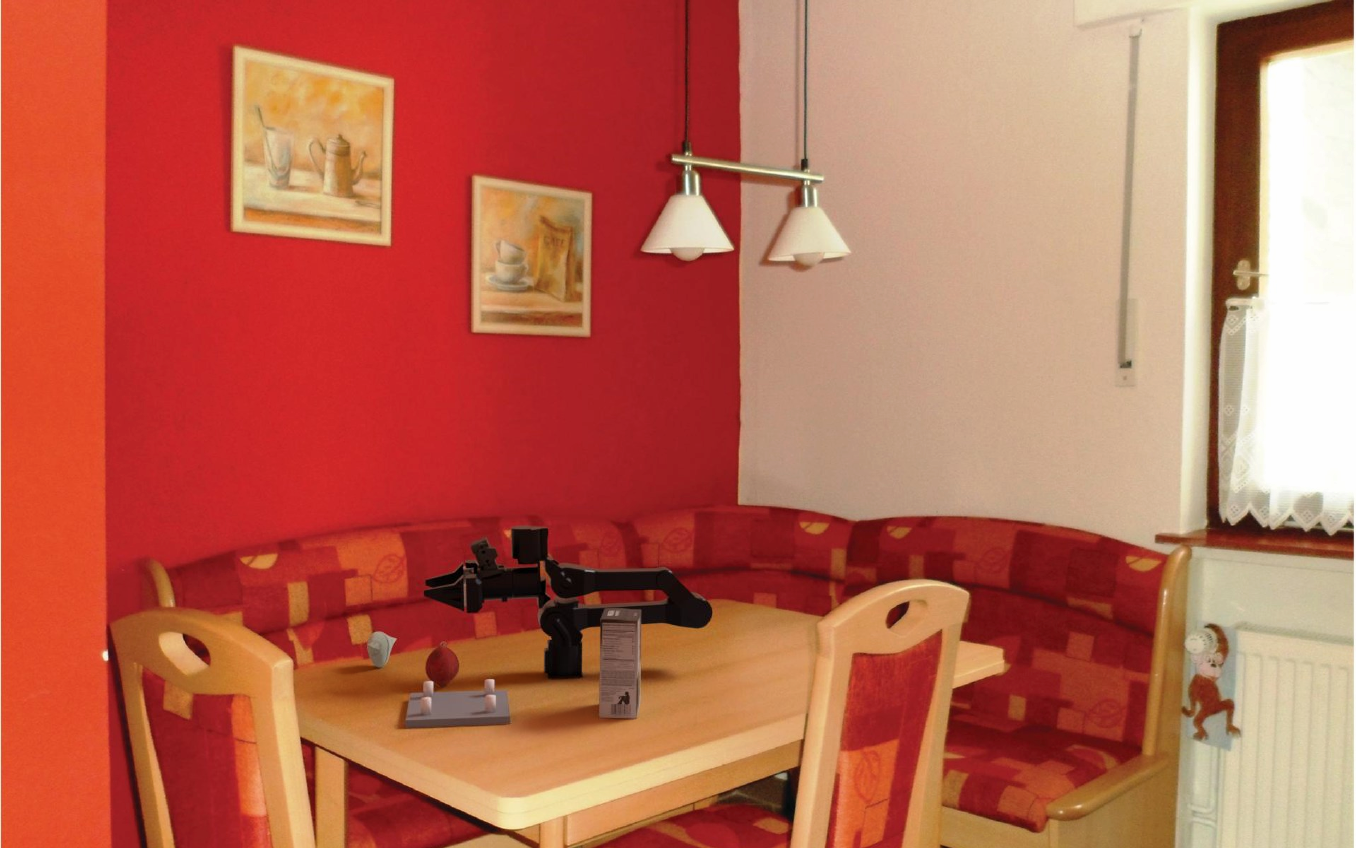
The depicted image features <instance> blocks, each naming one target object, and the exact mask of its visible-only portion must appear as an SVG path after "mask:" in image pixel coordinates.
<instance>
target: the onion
mask: <svg viewBox="0 0 1356 848" xmlns="http://www.w3.org/2000/svg"><path fill="white" fill-rule="evenodd" d="M447 645H448V643H447V641H441V642H440V643H439V644H438V646H437V647H436V648H435V649H433V650H432V651H431V652H430V653H429V655H428V656H427V658H426V662H425V665H424V666H425V667H424V668H425V669H424V670H425V674H426V676H427V678H428V679H429V681H433V684H435V685H437V686H438V687H440V688H445V687H446V686H447V685H448V684H449V683H450V682H451V681H453V680H454V679H455V678H456V677H457V675H458V673H459V670H460V661H459V658H458V656H457V654H456V653H455V652H454V651H453V650H452V649H451V648H449V647H448V646H447Z"/></svg>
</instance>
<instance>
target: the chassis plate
mask: <svg viewBox="0 0 1356 848" xmlns="http://www.w3.org/2000/svg"><path fill="white" fill-rule="evenodd" d="M422 689H423V691H422V692H411V693H410V694H409V700H408V703H407V704H408V705H407V709H406V716H405V722H404V723H405V724H404V725H405V727H404V728H405V729H411V728H413V729H417V728H437V727H439V728H441V727H463V726H466V727H467V726H485V725H487V726H489V725H490V726H491V725H493V726H494V725H511V711H510V704H509V703H510V702H509V696H508V690H507V689H496V690H495V679H493V678H488V679H484V690H469V691H468V690H462V691H461V690H460V691H438V692H437V691H434V682H433V681H431V680H426V681H423V688H422Z"/></svg>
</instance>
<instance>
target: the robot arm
mask: <svg viewBox="0 0 1356 848" xmlns="http://www.w3.org/2000/svg"><path fill="white" fill-rule="evenodd" d="M548 539H549V528H548V526H531V525H528V524H527V525H516V526H510V545H511V547H510V550H511V552H510V554H511V559H514V560H517V561H516V562H517V563H516V564H517V565H523V566H516V567H506V565H505V564H503V563H501V564H498V563H497V560H496V559H497V558H498V556H499V554H498V552H497V549H496V547H495V546H491V544H490V542H489V540H488V538H487V536H485V537H482V538H479V539H477V540H474V541H472V542H470V543H469V545H470V550H471V552H472V554H473V555H474V556H475V559H465V560H464V561H465V565H464V561H462V562H461V563H459V565H458V566H457V567H456V569H455V570H454V571H451V572H447V573H444V574H443V573H442V574H440V575H437V576H433V577H430V578H426V579H425V580H424V583H425V586H426V587H429V588H426V589H424V590H423V596H424V597H425V598H427V599H431V600H434V601H436V602H439V603H442V604H444V605H446V606H450V607H453V608H454V609H457V610H460V611H462V612H465V607H466V614H478V613H479V612H480V611H481V609H483V607H484V606H483V604H485V601H499V600H500V601H501V603H507V602H508V600H515V599H516V600H518V599H534V598H535V599H536V604H537V607H538V611H537V618H538V623H539V626H540V629H541V630H542V632H543V633H544V634H546V635H547V636H548V637H550V638H551V639H547V640H546V647H545V648H544V649H543V671H544V674H546V675H547V676H546V677H547V678H548V679H571V678H572V679H576V678H584V672H583V640H582V639H583V637H584V636H583V635H584V634H583V633H582V631H583V630H586V629H589V628H600V619H601V616H602V614H603V611H604V609H605V608H624V609H641V625H652V624H667V625H671V626H675V627H676V626H677V627H680V628H688V629H698V630H699V629H702V628H705V627H706V626H708V624H709V623H710V622H711V620H712V618H713V607H712V605H711V603H710V602H709V601H708V600H707V599H706V598H704V597H703V596H702V595H701V594H699V593H697V592H695V591H694V592H693V591H690V590H689V589H688V588H687V587H686V586H685V585H684V584H683V583H682V582H681V581H680V580H679V579H678V578H677V577H676V575H675V573H674V572H673V571H671V569H670V568H667V567H666V566H660V567H655V568H654V567H653V568H652V567H651V568H650V567H649V568H648V567H647V568H645V567H643V568H594V567H589V566H586V565H580V564H574V563H569V562H561V563H560V562H558V561H557V560H556V559H554V558H553V557H552V556H550V555H548V553H549V551H548V548H549V547H548V545H549V544H548ZM541 563H542V567H543V569H544V570H545V572H546V574H547V575H548V578H546V577H543V576H541ZM524 565H525V566H524ZM527 565H531V566H527ZM532 565H534V566H532ZM547 579H548V585H549V586H550V588H551V590H552V592H553V593H554V595H553V599H551V596H550V595H549V594H548V593H547ZM608 591H609V592H610V591H611V592H615V591H619V592H620V591H622V592H623V591H624V592H625V591H662V592H663V593H664V594H665V596H667V597H666V598H665V599H662V600H661V599H660V600H655V601H639V602H638V601H637V602H635V601H634V602H618V603H617V602H616V603H600V604H583V603H580V602H579V600H578V598H577V597H581V596H582V597H583V596H587V595H590V594H592V593H593V594H594V593H597V592H608Z"/></svg>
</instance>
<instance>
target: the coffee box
mask: <svg viewBox="0 0 1356 848" xmlns="http://www.w3.org/2000/svg"><path fill="white" fill-rule="evenodd" d="M599 628H600V629H599V633H600V634H599V685H598V687H599V689H598V692H599V693H598V694H599V695H598V697H599V698H598V700H599V701H598V718H599V719H600V718H601V719H602V718H603V719H632V720H633V719H637V718H638V716H639V711H640V707H641V703H642V702H641V699H642V697H641V695H642V694H641V693H642V692H641V687H642V685H641V684H642V682H641V680H642V679H641V677H642V675H641V674H642V673H641V672H642V669H641V667H642V624H641V609H624V608H605V609H604V611H603V614H602V616H601V619H600V627H599Z"/></svg>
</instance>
